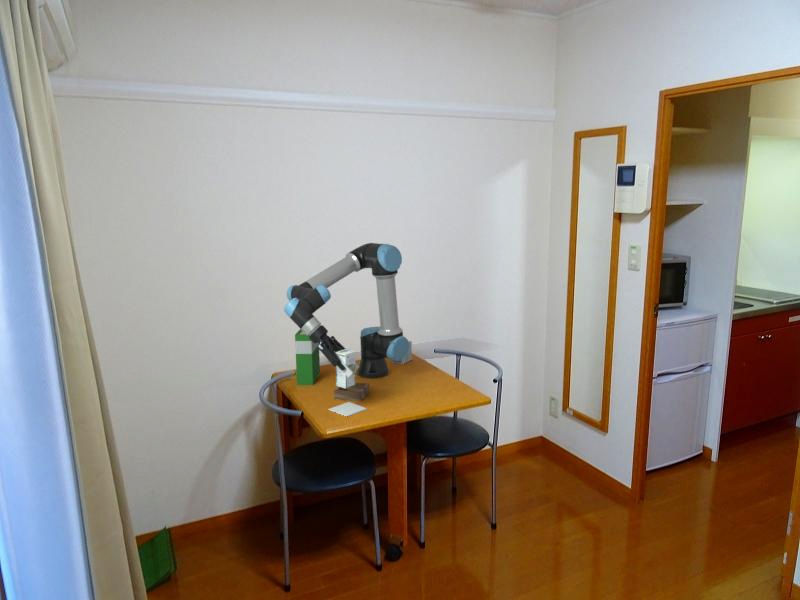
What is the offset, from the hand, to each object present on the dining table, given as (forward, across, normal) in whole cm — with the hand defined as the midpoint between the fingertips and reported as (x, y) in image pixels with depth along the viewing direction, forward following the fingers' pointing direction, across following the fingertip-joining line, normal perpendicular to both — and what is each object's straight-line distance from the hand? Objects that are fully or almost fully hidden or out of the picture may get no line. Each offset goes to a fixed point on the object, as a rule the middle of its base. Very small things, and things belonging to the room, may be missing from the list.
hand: (353, 372), depth 229 cm
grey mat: (+9, 0, -14) cm, 17 cm away
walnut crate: (+7, -16, -16) cm, 24 cm away
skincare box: (+13, -71, -10) cm, 73 cm away
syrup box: (+2, 0, -7) cm, 7 cm away
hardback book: (-12, -34, -36) cm, 51 cm away
